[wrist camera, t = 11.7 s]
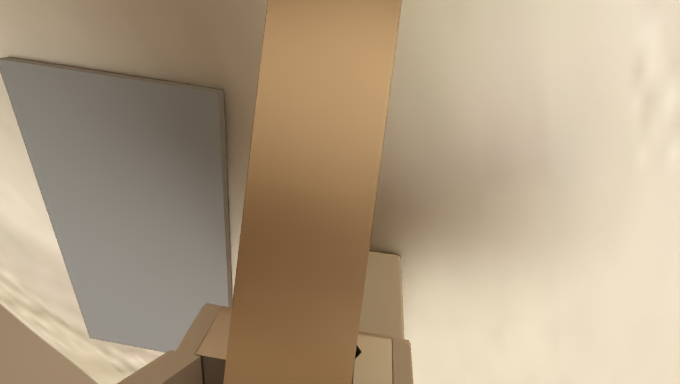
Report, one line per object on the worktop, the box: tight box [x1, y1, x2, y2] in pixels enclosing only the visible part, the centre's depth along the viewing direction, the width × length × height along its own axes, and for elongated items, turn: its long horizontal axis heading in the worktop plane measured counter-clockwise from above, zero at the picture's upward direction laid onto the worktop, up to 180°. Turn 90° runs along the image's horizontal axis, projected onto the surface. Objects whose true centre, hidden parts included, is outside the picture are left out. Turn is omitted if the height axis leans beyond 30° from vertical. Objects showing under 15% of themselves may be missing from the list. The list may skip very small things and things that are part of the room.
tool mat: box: [0, 57, 232, 353], centre depth 22 cm, size 20×11×1 cm, turn 173°
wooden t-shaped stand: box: [223, 0, 402, 384], centre depth 9 cm, size 16×9×4 cm, turn 175°
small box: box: [359, 251, 404, 339], centre depth 20 cm, size 8×6×13 cm
